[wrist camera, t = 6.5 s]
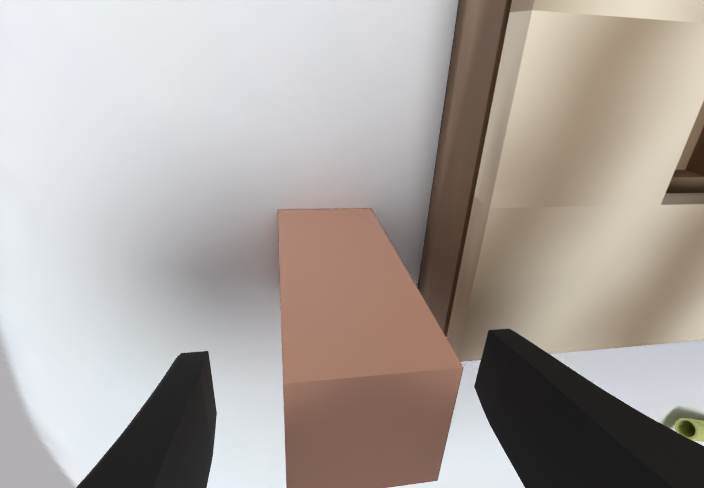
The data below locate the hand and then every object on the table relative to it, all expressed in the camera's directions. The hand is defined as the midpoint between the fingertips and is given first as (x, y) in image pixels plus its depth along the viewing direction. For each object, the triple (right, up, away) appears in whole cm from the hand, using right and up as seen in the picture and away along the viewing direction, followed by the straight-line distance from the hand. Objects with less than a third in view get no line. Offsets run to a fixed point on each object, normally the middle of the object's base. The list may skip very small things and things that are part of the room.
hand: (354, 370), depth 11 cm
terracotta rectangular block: (-1, +3, +5) cm, 6 cm away
